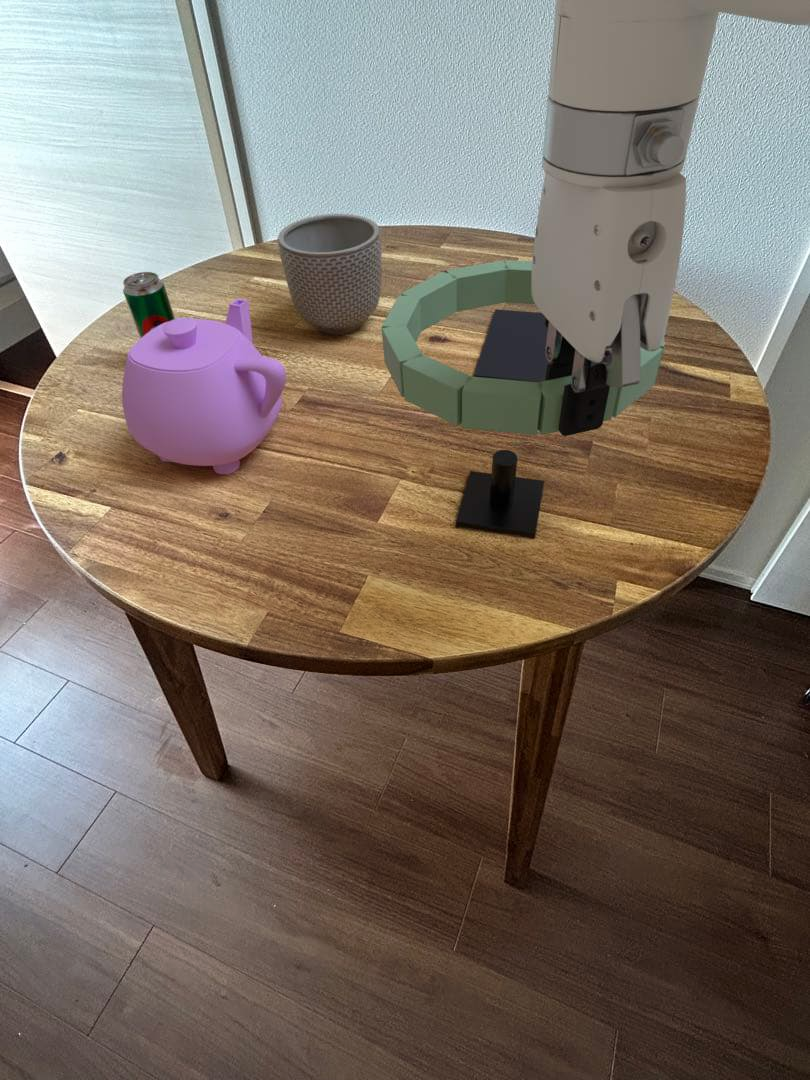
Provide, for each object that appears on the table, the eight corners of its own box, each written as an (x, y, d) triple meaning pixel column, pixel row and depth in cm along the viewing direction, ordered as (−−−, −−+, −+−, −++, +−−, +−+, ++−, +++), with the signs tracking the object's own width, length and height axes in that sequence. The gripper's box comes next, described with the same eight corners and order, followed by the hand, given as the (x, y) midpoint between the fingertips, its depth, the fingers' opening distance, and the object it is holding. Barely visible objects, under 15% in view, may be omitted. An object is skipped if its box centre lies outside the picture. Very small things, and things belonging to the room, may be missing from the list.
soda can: (195, 359, 90) (169, 275, 82) (169, 377, 88) (139, 291, 79) (170, 350, 92) (142, 267, 84) (143, 367, 89) (111, 283, 81)
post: (543, 485, 69) (550, 437, 65) (534, 538, 64) (542, 490, 59) (469, 476, 71) (471, 427, 66) (455, 526, 66) (456, 478, 61)
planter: (386, 345, 91) (380, 251, 82) (288, 349, 91) (270, 257, 82) (387, 299, 100) (381, 210, 91) (297, 303, 101) (283, 215, 91)
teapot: (343, 401, 82) (328, 285, 71) (268, 504, 69) (236, 383, 58) (209, 377, 87) (176, 266, 76) (117, 469, 74) (61, 351, 63)
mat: (620, 323, 92) (621, 319, 92) (616, 393, 81) (617, 389, 80) (495, 312, 96) (495, 308, 96) (473, 378, 84) (473, 374, 84)
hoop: (653, 301, 60) (661, 266, 57) (656, 448, 45) (667, 409, 43) (421, 288, 64) (420, 255, 62) (355, 417, 50) (350, 380, 47)
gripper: (775, 168, 30) (676, 475, 43) (608, 93, 41) (570, 357, 54) (626, 193, 29) (572, 500, 42) (495, 109, 39) (485, 374, 53)
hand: (571, 417), depth 48 cm, fingers closed on hoop, 2 cm apart
